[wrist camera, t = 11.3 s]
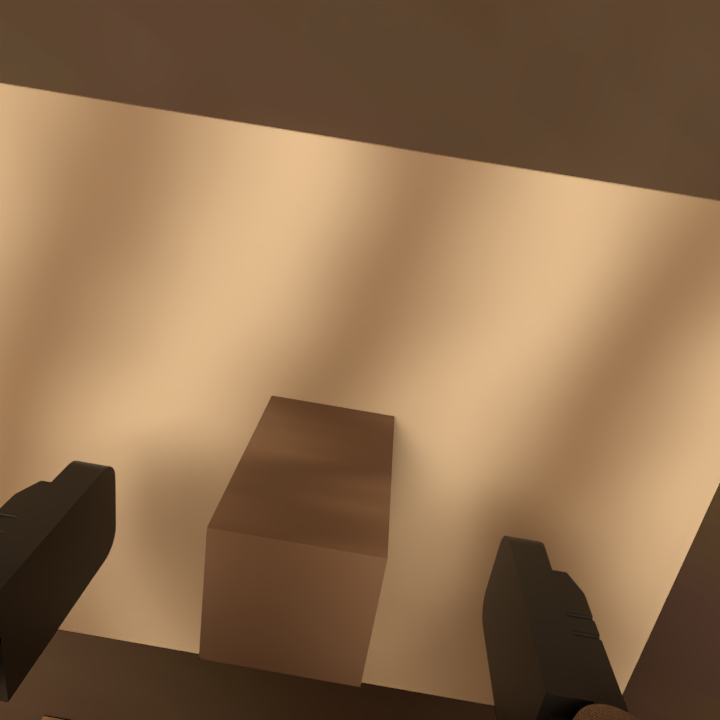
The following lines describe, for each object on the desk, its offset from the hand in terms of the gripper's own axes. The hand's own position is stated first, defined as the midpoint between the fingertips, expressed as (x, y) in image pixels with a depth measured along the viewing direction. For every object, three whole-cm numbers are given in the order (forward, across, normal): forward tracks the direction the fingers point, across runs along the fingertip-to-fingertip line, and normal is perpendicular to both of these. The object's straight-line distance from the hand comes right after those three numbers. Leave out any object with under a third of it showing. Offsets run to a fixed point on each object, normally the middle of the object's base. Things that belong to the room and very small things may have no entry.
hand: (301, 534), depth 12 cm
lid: (+4, 0, 0) cm, 4 cm away
